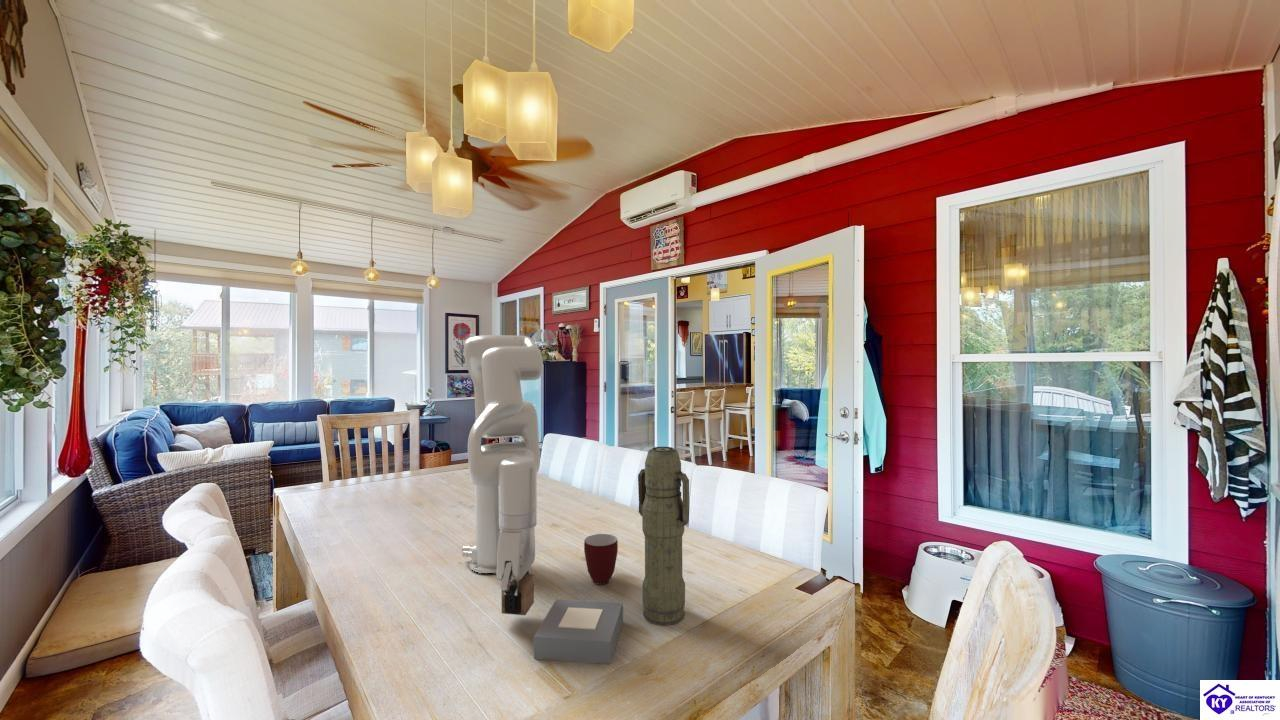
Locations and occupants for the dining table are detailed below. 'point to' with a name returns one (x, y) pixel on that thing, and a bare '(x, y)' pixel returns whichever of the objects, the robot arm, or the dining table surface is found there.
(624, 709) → the dining table surface
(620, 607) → the slate pedestal
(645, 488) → the thermos
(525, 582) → the walnut block
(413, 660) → the dining table surface
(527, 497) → the robot arm
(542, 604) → the dining table surface
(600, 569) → the mug
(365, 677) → the dining table surface
